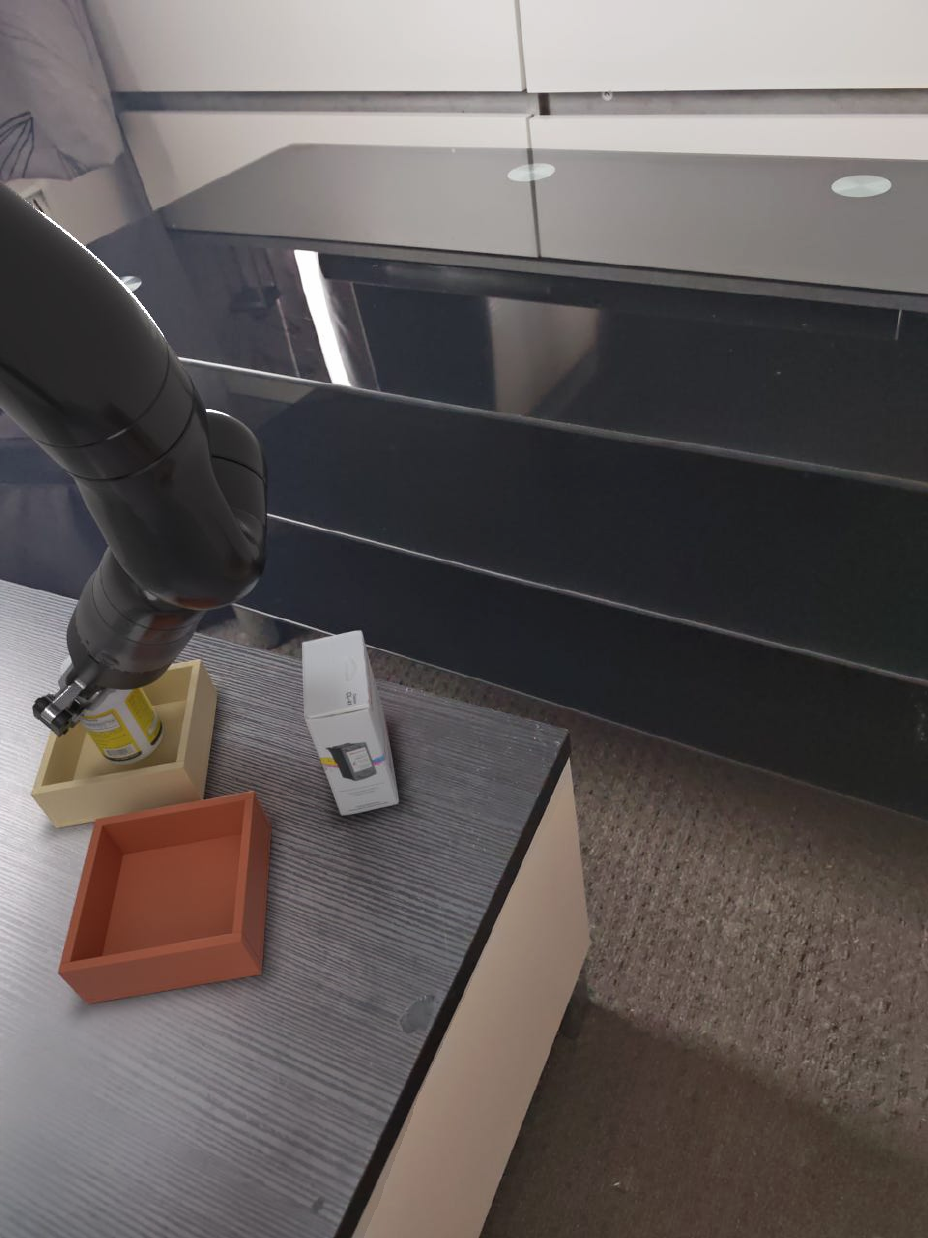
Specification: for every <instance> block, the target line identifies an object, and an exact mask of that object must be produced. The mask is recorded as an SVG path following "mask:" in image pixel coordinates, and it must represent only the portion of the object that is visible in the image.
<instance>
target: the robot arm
mask: <svg viewBox="0 0 928 1238" xmlns="http://www.w3.org/2000/svg"><path fill="white" fill-rule="evenodd" d="M0 409H1V410H2V411H3V412H4V413H5V414H6V415H7V416H8V417H9V418H10V419H11V420H12V421H13V422H14V423H15V424H16V425H17V426H18V427H19V428H20V429H21V430H22V431H23V432H24V433H25V434H26V435H27V436H29V438H30V439H31V440H32V441H33V442H35V444H36V445H38V446H39V447H40V448H41V449H42V450H43V451H44V452H45V453H46V454H47V455H48V456H49V457H50V458H51V459H52V460H53V461H54V462H55V463H57V465H59V466H60V467H61V468H62V469H63V470H64V471H65V472H66V473H67V474H68V475H70V476H71V477H72V479H73V480H74V482H75V484H76V486H77V488H78V490H79V492H80V494H81V497H82V499H83V502H84V504H85V506H86V509H87V510H88V511H89V514H90V516H91V517H92V519H93V520H94V522H95V525H96V526H97V528H98V529H99V531H100V534H101V535H102V537H103V538H104V540H105V542H106V545H107V548H106V549H105V551H104V552H103V556H102V557H101V559H100V562H99V565H98V567H97V568H96V569H95V570H94V571H93V573H92V574H91V575H90V577H89V579H88V580H87V582H86V583H85V585H84V587H83V589H82V592H81V594H80V596H79V598H78V600H77V603H76V605H75V608H74V610H73V612H72V615H71V617H70V619H69V621H68V624H67V628H66V635H65V636H66V646H67V647H66V648H67V650H68V651H67V652H68V654H69V655H68V656H70V657H71V661H72V663H71V665H70V666H69V667H68V668H67V670H66V671H65V672H64V674H63V675H62V676H61V675H60V678H59V679H58V680H57V684H58V686H59V690H58V691H56V692H55V693H54V694H53V693H52V692H51V691H49V692H48V693H47V694H43V695H42V696H38V697H37V698H36V699H35V700H34V704H33V705H32V706H31V709H32V715H33V717H34V718H35V719H36V720H37V721H40V722H41V723H42V724H43V725H45V726H46V727H47V728H48V729H49V730H50V731H51V730H52V731H53V732H54V734H56V735H57V736H58V737H60V736H62V735H65V734H66V733H67V732H68V731H69V730H68V729H69V728H74V727H75V726H76V725H77V724H78V723H79V722H80V720H81V719H82V718H83V717H84V716H85V715H84V714H85V713H86V712H87V710H88V711H94V710H95V709H96V708H97V707H98V706H99V705H100V704H101V703H103V702H104V701H105V699H106V698H107V697H108V696H109V695H110V694H112V693H114V692H115V691H116V690H117V689H118V690H130V689H137V688H141V687H144V686H146V685H149V684H151V683H153V682H154V681H156V680H157V679H159V678H160V677H161V676H162V675H163V674H164V673H165V672H166V671H167V669H168V668H169V667H170V666H171V665H172V664H174V662H175V661H176V659H177V658H178V656H180V655H181V653H182V651H183V650H184V649H185V648H186V646H187V645H188V644H189V642H190V641H191V640H192V638H193V636H194V634H195V633H196V632H197V631H196V630H197V628H198V626H199V624H200V621H201V620H202V619H203V617H204V616H205V615H206V613H207V612H208V611H210V610H219V609H222V608H226V607H227V606H230V605H233V604H235V603H237V602H239V601H240V600H242V599H244V598H245V597H246V596H247V595H249V593H251V592H252V591H253V589H254V588H255V587H256V586H257V585H258V583H259V582H260V580H261V578H262V577H263V576H262V575H263V573H264V570H265V568H266V562H267V556H268V555H267V554H268V487H269V486H268V485H269V484H268V482H269V476H268V474H269V473H268V463H267V458H266V455H265V451H264V448H263V446H262V445H261V442H260V441H259V440H258V438H257V437H256V435H255V434H254V433H253V431H252V430H251V429H250V428H249V427H248V426H246V424H244V423H243V422H242V421H240V420H239V419H237V418H235V417H233V416H231V415H229V414H227V413H224V412H221V411H217V410H213V409H206V404H205V402H204V399H203V396H202V395H201V393H200V391H199V389H198V387H197V385H196V383H195V381H194V380H193V378H192V377H191V375H190V374H189V372H188V371H187V370H186V368H185V366H184V365H183V363H182V361H181V360H180V358H179V357H178V356H177V354H176V352H175V351H174V350H173V348H172V347H171V345H170V343H169V342H168V341H167V339H166V337H165V336H164V334H163V333H162V331H161V330H160V328H159V327H158V325H157V324H156V323H155V321H154V320H153V318H152V317H151V316H150V314H149V313H148V311H147V310H146V309H145V307H144V306H143V305H142V303H141V302H140V301H139V300H138V298H137V297H136V295H134V293H133V292H132V291H131V290H130V289H129V288H128V287H127V286H126V285H125V284H124V282H123V281H122V280H120V279H119V277H118V276H117V275H115V273H113V272H112V270H110V269H109V268H108V267H107V266H106V265H105V264H104V262H102V261H101V260H100V259H99V258H97V256H95V255H94V254H93V253H92V252H91V251H90V250H89V249H87V248H86V246H84V245H83V244H82V243H80V241H78V240H77V239H76V238H75V237H73V236H72V235H71V234H70V233H69V232H67V231H66V230H65V229H63V228H62V227H61V226H60V225H59V224H57V223H56V222H55V221H53V220H52V219H51V218H50V217H48V216H46V214H44V213H43V212H41V211H40V210H39V209H38V208H37V207H35V206H34V205H33V204H31V203H30V202H29V201H28V200H26V199H25V198H24V197H23V196H21V195H20V194H19V193H18V192H16V191H15V190H14V189H13V188H12V187H10V186H9V185H8V184H6V183H5V182H4V181H2V180H1V179H0ZM101 690H102V691H101ZM99 691H101V692H100V693H98V692H99ZM75 699H76V700H77V701H78V702H79V703H80V704H79V703H78V702H77V701H76V700H75Z"/></svg>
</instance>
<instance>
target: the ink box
mask: <svg viewBox="0 0 928 1238" xmlns="http://www.w3.org/2000/svg"><path fill="white" fill-rule="evenodd" d="M301 659H302V660H301V661H302V663H301V664H302V691H303V692H302V693H303V694H302V695H303V716H304V721H305V723H306V726H307V729H308V731H309V733H310V736H311V740H312V742H313V745H314V748H315V750H316V753H317V755H318V758H319V761H320V763H321V765H322V768H323V770H324V774H325V776H326V779H327V782H328V784H329V786H330V787H329V788H330V790H331V792H332V796H333V798H334V800H335V803H336V806H337V808H338V811H339V814H340V816H349V815H356V814H359V813H364V812H369V811H373V810H377V809H383V808H387V807H390V806H395V805H398V804H399V803H400V798H399V791H398V786H397V785H398V783H397V780H396V779H397V778H396V772H395V766H394V760H393V755H392V749H391V742H390V735H389V730H388V724H387V720H386V715H385V712H384V708H383V705H382V701H381V697H380V694H379V690H378V687H377V686H378V685H377V682H376V679H375V675H374V671H373V667H372V664H371V660H370V657H369V652H368V648H367V644H366V640H365V638H364V633H363V631H362V630H361V629H360V630H359V629H358V630H353V631H348V632H343V633H339V634H334V635H329V636H326V637H319V638H315V639H309V640H306V641H303V642H302V643H301Z"/></svg>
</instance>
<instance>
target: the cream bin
mask: <svg viewBox="0 0 928 1238" xmlns="http://www.w3.org/2000/svg"><path fill="white" fill-rule="evenodd" d="M141 688H142V690H143V692H144V693H145V695H146V697H147V699H148V700H149V702H150V704H151V705H152V707H153V709H154V710H155V712H156V714H157V715H158V717H159V719H160V720H161V722H162V724H163V727H164V735H163V739H162V741H161V743H160V744H159V746H158V747H157V748H156V749H155V750H154V751H153V752H152V753H151V754H150V755H149V756H147V757H146V758H144V759H142V760H140V761H138V762H136V763H132V764H127V765H117V764H113V763H111V762H109V761H108V760H107V759H106V758H105V757H104V756H103V755H102V753H101V752H100V750H99V749H98V747H97V746H96V744H95V743H94V741H93V740H92V738H91V737H90V735H89V734H88V732H87V731H86V729H85V728H84V727H83V725H82V724H81V722H79V723H78V724H77V725H76V726H75V727H74V728H69V729H68V730H69V731H68V732H67V733H66V734H65V735H62V736H60V737H58V736H57V735H56V734H54V732H53V731H52V730H51V729H50V733H49V736H48V739H47V742H46V745H45V747H44V752H43V755H42V758H41V760H40V765H39V767H38V770H37V773H36V777H35V781H34V782H33V786H32V789H31V792H30V796H31V797H32V799H33V800H34V801H35V802H36V804H37V805H38V806H39V807H40V809H41V810H42V812H43V813H44V814H45V815H46V817H47V818H48V819H49V821H50V822H51V823H52V824H53V826H54V827H55V828H56V829H62V828H67V827H72V826H76V825H82V824H88V823H95V820H96V819H100V818H106V817H111V816H117V815H123V814H128V813H134V812H139V811H145V810H151V809H156V808H162V807H167V806H173V805H178V804H184V803H190V802H195V801H201V800H204V797H205V790H206V781H207V775H208V768H209V760H210V754H211V752H210V751H211V745H212V738H213V732H214V726H215V725H214V724H215V717H216V712H217V711H216V710H217V704H218V703H217V702H218V696H219V693H218V691H217V689H216V687H215V684H214V683H213V680H212V679H211V677H210V675H209V673H208V671H207V668H206V667H205V665H204V662H203V660H202V659H201V658H200V659H193V660H189V661H182V662H177V663H172V664H171V666H170V667H169V668H168V669H167V671H166V672H165V673H164V674H163V675H162V676H161V677H160V678H159V679H157V680H156V681H154V682H153V683H151V684H149V685H146V686H144V687H141Z"/></svg>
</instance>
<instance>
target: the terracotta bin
mask: <svg viewBox="0 0 928 1238" xmlns="http://www.w3.org/2000/svg"><path fill="white" fill-rule="evenodd" d="M272 829H273V828H272V823H271V821H270V820H269V818H268V816H267V814H266V812H265V810H264V808H263V806H262V804H261V802H260V799H259V798H258V796H257V794H256V792H255V790H252V791H245V792H240V793H235V794H234V793H233V794H228V795H223V796H217V797H213V798H207V799H203V800H201V801H195V802H190V803H184V804H178V805H173V806H167V807H162V808H156V809H151V810H145V811H139V812H134V813H128V814H123V815H117V816H111V817H106V818H100V819H96V820H95V821H94V822H93V827H92V831H91V836H90V840H89V843H88V847H87V852H86V855H85V858H84V859H85V860H84V864H83V868H82V872H81V876H80V880H79V884H78V888H77V892H76V896H75V899H74V900H75V901H74V905H73V908H72V913H71V917H70V921H69V924H68V930H67V933H66V938H65V942H64V945H63V950H62V954H61V958H60V962H59V966H58V970H57V974H58V975H59V976H60V978H61V979H62V980H64V981H65V983H66V984H67V985H68V986H69V987H70V988H71V989H72V990H73V991H74V992H75V993H76V995H78V996H79V997H80V999H81V1000H82V1001H83V1002H84V1003H85V1004H86V1005H91V1004H97V1003H103V1002H104V1003H105V1002H108V1001H114V1000H119V999H125V998H132V997H138V996H143V995H150V994H155V993H160V992H166V991H171V990H172V991H173V990H177V989H183V988H184V989H185V988H189V987H195V986H201V985H207V984H212V983H218V982H224V981H229V980H236V979H241V978H247V977H252V976H258V975H262V974H263V962H264V961H263V960H264V944H265V929H266V916H267V915H266V914H267V900H268V887H269V871H270V856H271V842H272Z"/></svg>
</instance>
